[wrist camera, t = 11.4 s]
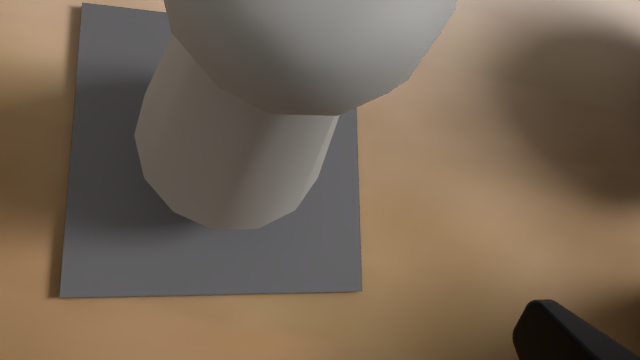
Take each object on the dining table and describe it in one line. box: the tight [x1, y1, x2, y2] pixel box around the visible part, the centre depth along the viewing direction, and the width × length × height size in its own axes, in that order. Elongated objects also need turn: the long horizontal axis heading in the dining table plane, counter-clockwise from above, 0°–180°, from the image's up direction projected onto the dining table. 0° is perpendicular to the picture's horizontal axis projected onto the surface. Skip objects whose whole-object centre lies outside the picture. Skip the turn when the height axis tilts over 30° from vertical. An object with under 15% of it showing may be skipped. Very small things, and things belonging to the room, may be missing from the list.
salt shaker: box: [134, 0, 456, 231], centre depth 13 cm, size 6×6×13 cm
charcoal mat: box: [59, 3, 362, 298], centre depth 19 cm, size 10×10×1 cm
